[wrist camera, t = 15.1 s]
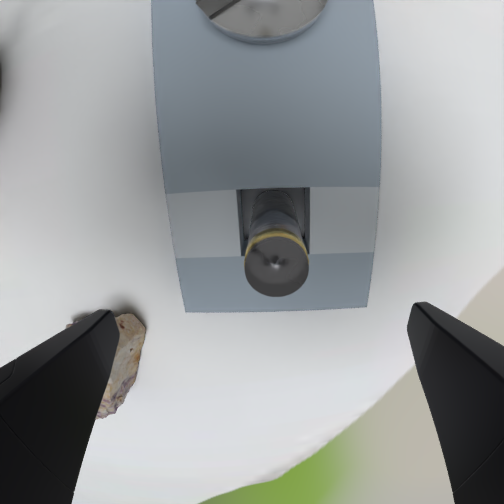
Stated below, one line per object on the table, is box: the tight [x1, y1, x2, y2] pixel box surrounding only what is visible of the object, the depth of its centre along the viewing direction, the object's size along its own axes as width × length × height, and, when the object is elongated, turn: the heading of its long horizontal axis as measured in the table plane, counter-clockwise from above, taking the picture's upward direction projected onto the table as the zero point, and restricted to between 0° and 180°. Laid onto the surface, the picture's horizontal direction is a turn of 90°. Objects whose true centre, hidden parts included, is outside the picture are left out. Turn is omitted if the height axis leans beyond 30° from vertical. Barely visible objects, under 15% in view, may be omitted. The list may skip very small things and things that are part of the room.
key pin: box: [244, 190, 309, 297], centre depth 17 cm, size 3×3×8 cm
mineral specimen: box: [66, 313, 146, 420], centre depth 23 cm, size 13×7×6 cm, turn 158°
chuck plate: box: [151, 0, 381, 312], centre depth 16 cm, size 12×26×2 cm, turn 3°
